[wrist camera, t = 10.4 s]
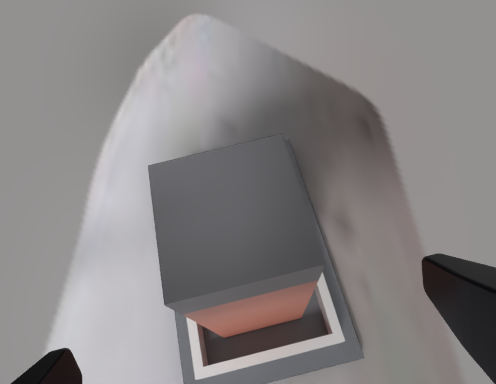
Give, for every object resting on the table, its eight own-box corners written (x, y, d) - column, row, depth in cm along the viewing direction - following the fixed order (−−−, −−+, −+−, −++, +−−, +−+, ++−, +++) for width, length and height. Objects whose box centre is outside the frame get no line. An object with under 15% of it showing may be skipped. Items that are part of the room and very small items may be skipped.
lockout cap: (301, 318, 21) (326, 264, 10) (224, 337, 20) (164, 305, 10) (280, 244, 23) (281, 133, 12) (210, 262, 22) (147, 165, 12)
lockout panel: (361, 358, 20) (376, 356, 17) (189, 402, 20) (172, 409, 17) (288, 146, 27) (289, 115, 24) (159, 176, 26) (143, 150, 23)
